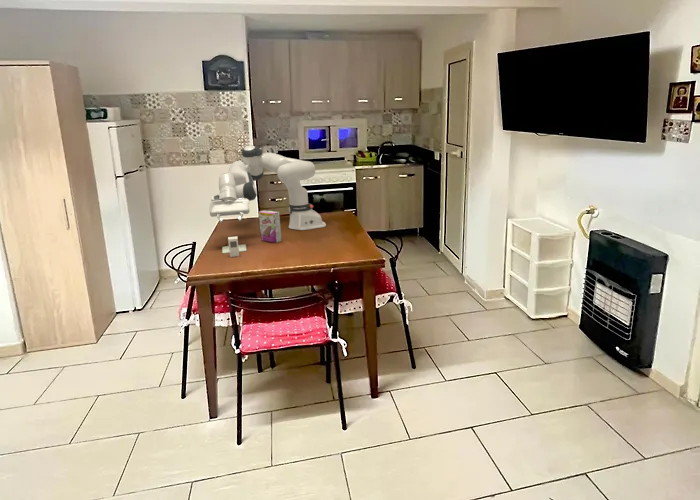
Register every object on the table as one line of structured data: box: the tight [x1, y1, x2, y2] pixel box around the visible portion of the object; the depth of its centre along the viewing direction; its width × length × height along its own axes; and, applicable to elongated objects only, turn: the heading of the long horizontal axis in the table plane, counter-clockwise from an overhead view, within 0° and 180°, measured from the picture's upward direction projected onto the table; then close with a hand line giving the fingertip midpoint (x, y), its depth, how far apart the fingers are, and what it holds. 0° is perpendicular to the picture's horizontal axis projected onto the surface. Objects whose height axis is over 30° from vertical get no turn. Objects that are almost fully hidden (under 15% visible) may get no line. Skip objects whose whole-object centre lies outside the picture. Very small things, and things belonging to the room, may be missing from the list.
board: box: [222, 244, 247, 254], centre depth 253 cm, size 12×12×1 cm
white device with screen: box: [227, 235, 240, 258], centre depth 242 cm, size 4×5×9 cm
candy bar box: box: [257, 210, 283, 244], centre depth 264 cm, size 11×5×16 cm, turn 59°
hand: (230, 221), depth 250 cm, fingers open, 8 cm apart
